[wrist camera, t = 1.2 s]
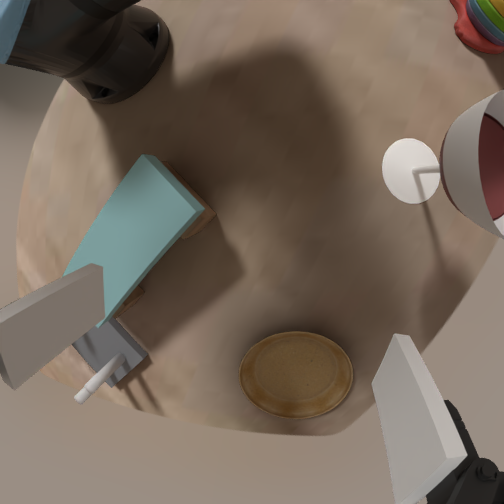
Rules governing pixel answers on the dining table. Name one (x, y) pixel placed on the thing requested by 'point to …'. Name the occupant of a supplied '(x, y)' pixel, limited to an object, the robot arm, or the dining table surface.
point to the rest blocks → (191, 230)
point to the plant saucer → (295, 375)
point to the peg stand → (107, 355)
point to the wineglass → (457, 165)
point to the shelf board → (135, 229)
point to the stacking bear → (481, 24)
